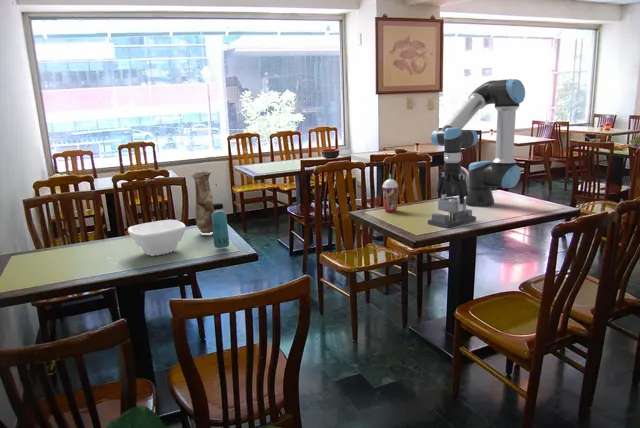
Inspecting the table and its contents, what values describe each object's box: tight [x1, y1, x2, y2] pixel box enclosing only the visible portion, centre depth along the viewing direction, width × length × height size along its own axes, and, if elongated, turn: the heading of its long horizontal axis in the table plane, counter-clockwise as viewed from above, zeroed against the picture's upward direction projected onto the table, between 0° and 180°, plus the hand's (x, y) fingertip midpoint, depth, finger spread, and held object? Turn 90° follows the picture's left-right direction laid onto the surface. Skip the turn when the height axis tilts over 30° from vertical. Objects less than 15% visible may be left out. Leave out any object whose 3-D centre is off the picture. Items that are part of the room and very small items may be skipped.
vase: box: [190, 170, 217, 233], centre depth 235 cm, size 10×11×30 cm
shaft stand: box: [427, 199, 477, 230], centre depth 233 cm, size 20×12×11 cm, turn 125°
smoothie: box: [382, 173, 399, 213], centre depth 261 cm, size 8×8×20 cm
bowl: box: [127, 219, 187, 257], centre depth 209 cm, size 22×22×12 cm
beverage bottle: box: [211, 202, 230, 249], centre depth 208 cm, size 6×7×20 cm
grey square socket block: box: [437, 196, 467, 213], centre depth 232 cm, size 9×9×5 cm
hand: (451, 209), depth 232 cm, fingers closed on grey square socket block, 9 cm apart
